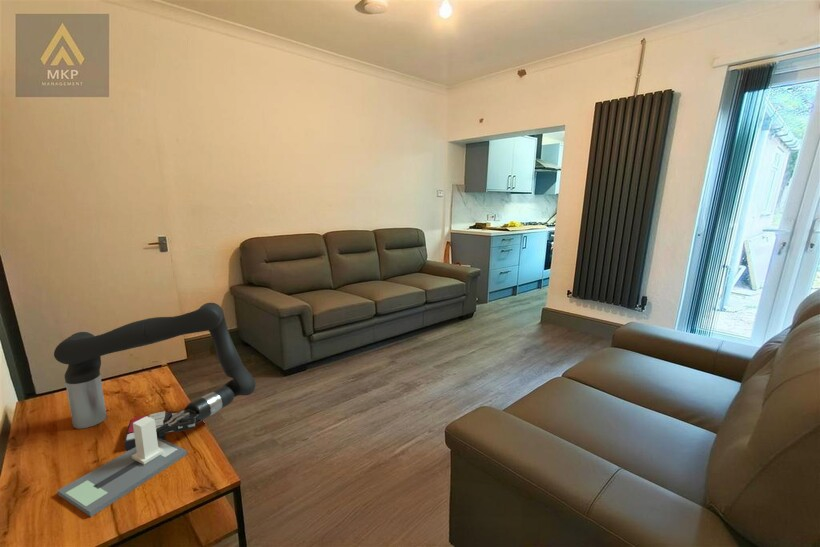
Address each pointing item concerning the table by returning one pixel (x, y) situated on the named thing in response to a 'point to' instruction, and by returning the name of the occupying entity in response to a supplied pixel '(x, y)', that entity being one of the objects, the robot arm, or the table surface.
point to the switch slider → (146, 440)
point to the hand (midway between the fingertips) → (154, 434)
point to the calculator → (130, 436)
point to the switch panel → (117, 478)
